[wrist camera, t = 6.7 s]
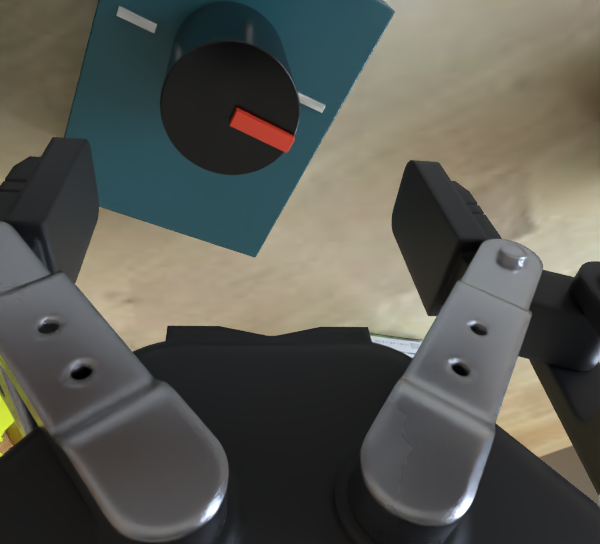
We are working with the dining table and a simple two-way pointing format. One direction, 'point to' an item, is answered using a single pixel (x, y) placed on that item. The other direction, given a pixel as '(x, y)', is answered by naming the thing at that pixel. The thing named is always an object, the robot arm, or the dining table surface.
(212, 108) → the knob
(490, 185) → the dining table surface
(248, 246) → the dial panel
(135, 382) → the robot arm
